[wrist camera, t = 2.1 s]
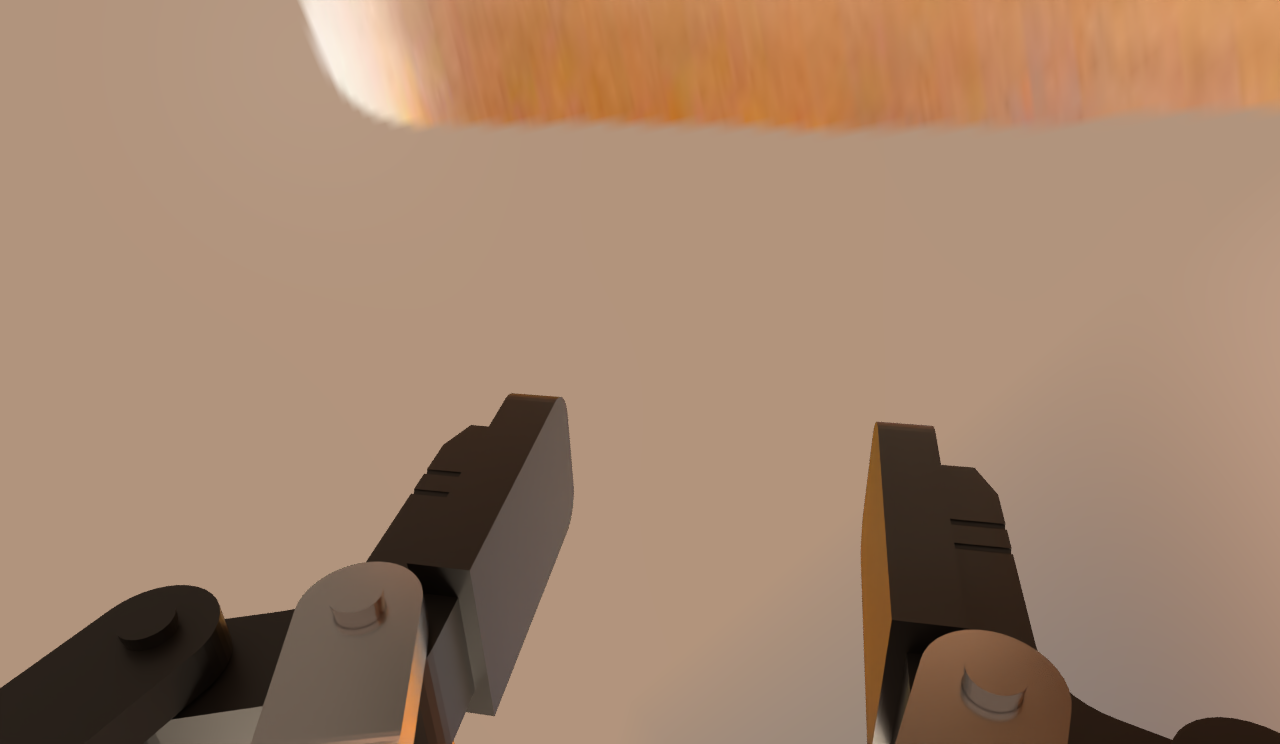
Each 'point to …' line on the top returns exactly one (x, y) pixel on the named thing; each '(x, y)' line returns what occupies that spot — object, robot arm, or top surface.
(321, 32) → the top surface
